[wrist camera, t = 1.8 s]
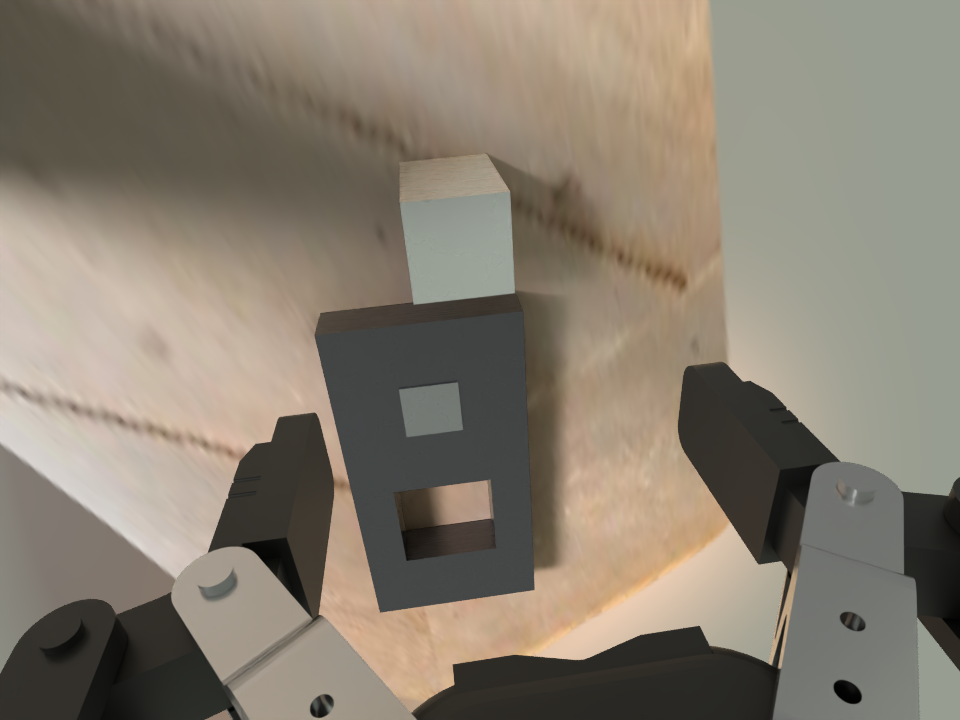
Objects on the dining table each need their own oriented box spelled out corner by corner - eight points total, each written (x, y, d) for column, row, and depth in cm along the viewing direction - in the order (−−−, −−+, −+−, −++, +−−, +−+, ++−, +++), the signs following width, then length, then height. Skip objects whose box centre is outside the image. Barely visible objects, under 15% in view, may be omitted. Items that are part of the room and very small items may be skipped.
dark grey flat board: (381, 580, 41) (380, 613, 39) (320, 313, 31) (314, 336, 29) (527, 560, 41) (534, 591, 39) (514, 291, 31) (523, 312, 29)
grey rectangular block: (411, 245, 30) (413, 304, 24) (399, 161, 28) (399, 202, 22) (491, 237, 30) (514, 293, 24) (486, 153, 28) (510, 191, 22)
